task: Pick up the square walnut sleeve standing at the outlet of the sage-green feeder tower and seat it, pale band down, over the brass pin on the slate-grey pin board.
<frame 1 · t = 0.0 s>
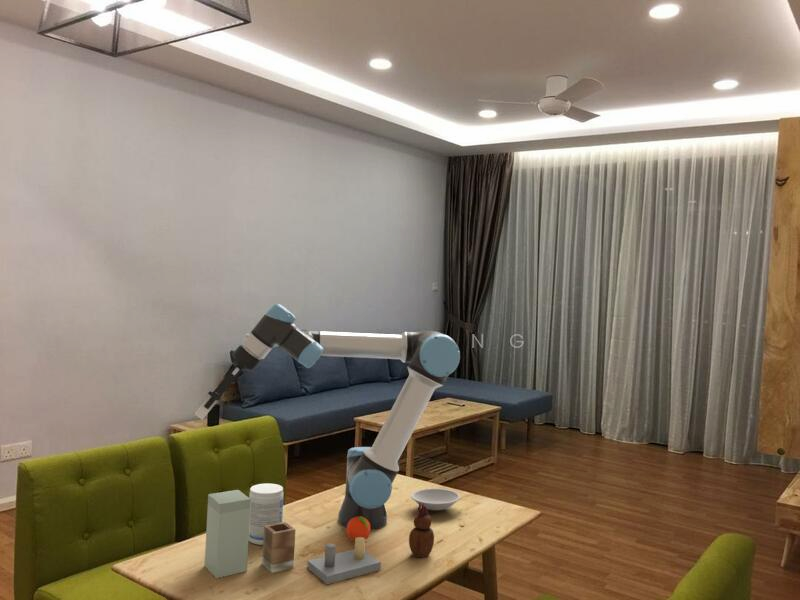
hand: (202, 411, 177), 36 cm above the table, tool tilted 35°, fingers open, 13 cm apart
sleeve: (277, 565, 164), on the table
clementine: (359, 541, 182), on the table
feeder tower: (225, 568, 161), on the table
supplement tub: (264, 540, 180), on the table
pin board: (344, 569, 164), on the table
wooden figurine: (420, 555, 176), on the table
dish: (435, 510, 211), on the table
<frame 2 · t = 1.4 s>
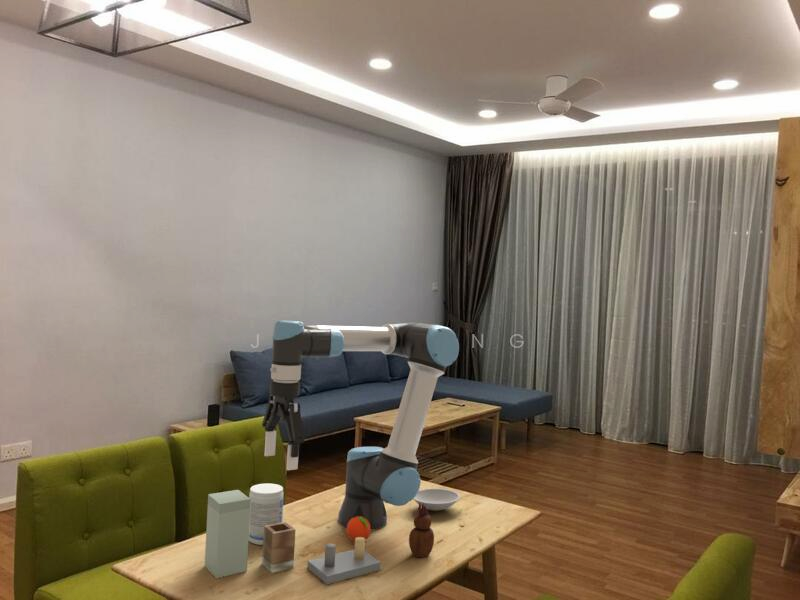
hand: (280, 462, 164), 27 cm above the table, tool pointing down, fingers open, 13 cm apart
nothing on the table moved.
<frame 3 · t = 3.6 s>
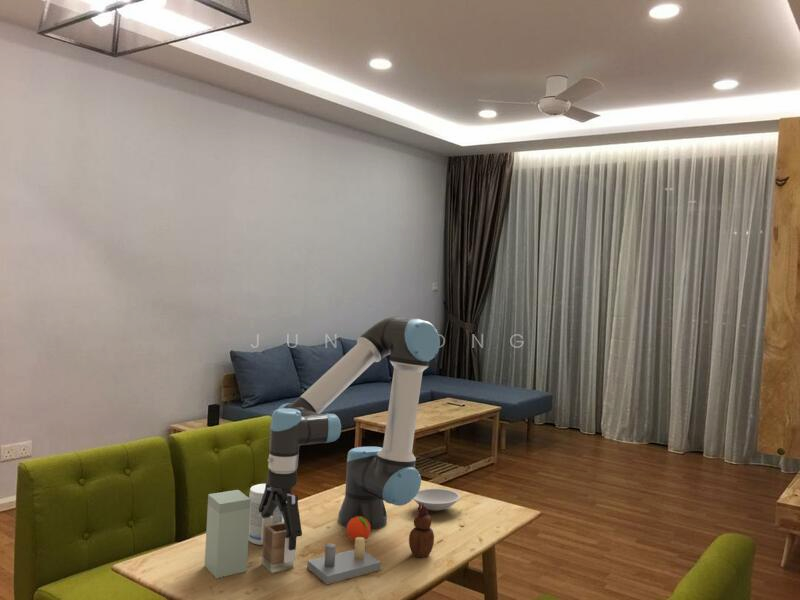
hand: (277, 551, 164), 4 cm above the table, tool pointing down, fingers open, 13 cm apart
nothing on the table moved.
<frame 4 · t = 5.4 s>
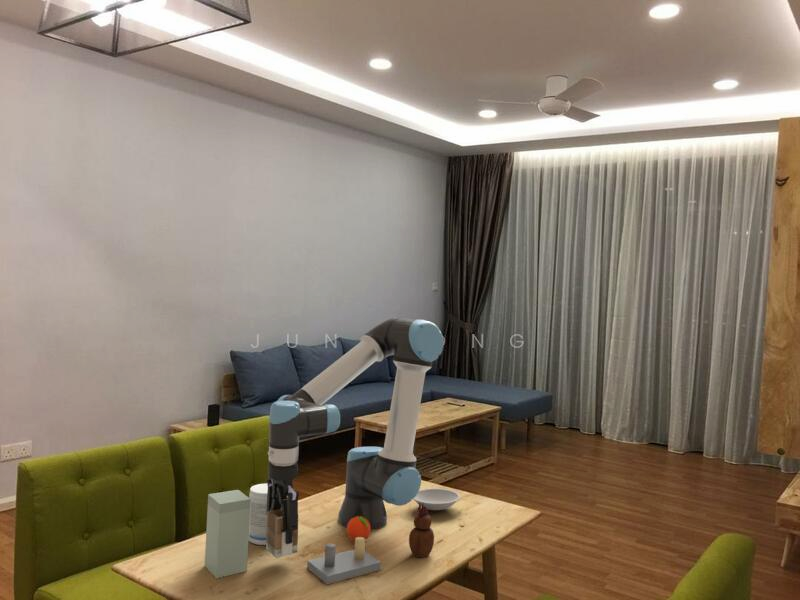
hand: (280, 549, 164), 4 cm above the table, tool pointing down, fingers closed on sleeve, 6 cm apart
sleeve: (281, 550, 164), point 4 cm above the table, touching gripper
everything else where it was.
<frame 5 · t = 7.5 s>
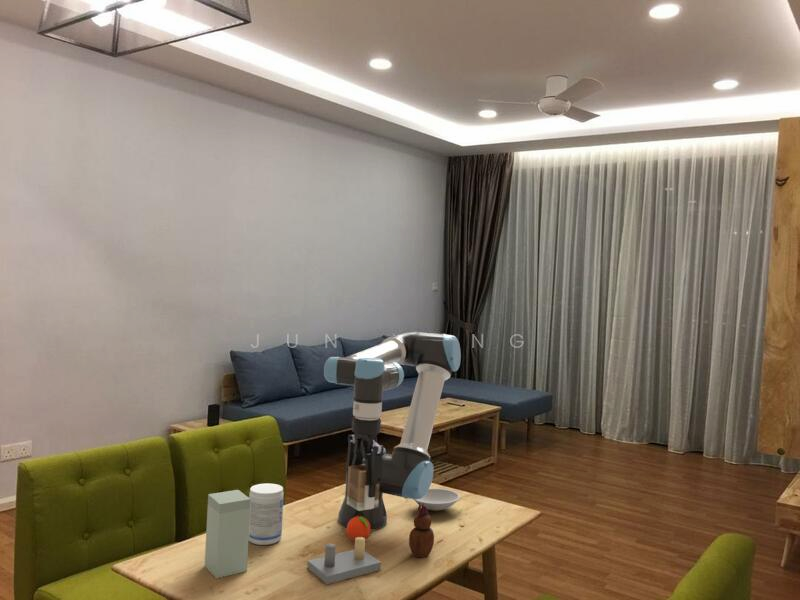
hand: (361, 504, 166), 16 cm above the table, tool pointing down, fingers closed on sleeve, 6 cm apart
sleeve: (362, 505, 167), point 16 cm above the table, touching gripper
everything else where it was.
when the fingers open (3 cm above the table, at t = 9.6 s): sleeve drops 1 cm, resting on pin board.
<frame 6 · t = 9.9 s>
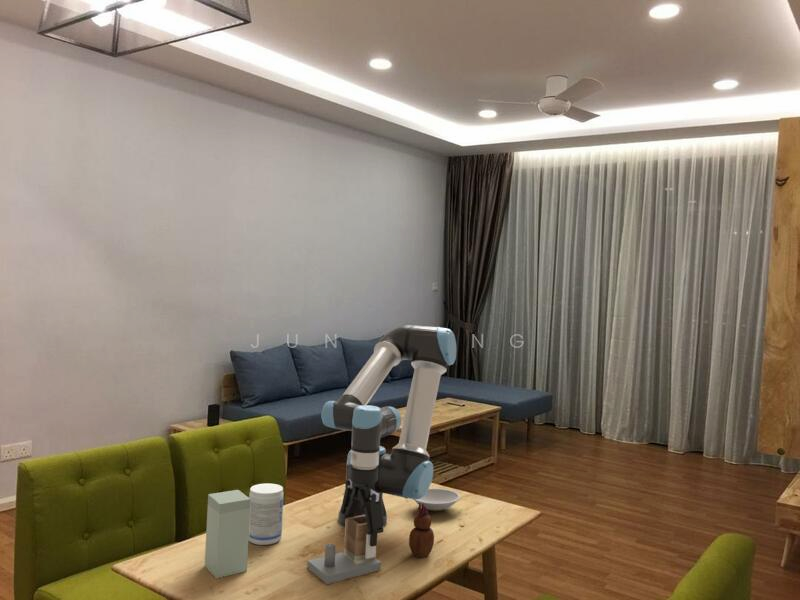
hand: (359, 549, 167), 4 cm above the table, tool pointing down, fingers open, 9 cm apart
sleeve: (359, 557, 167), point 2 cm above the table, touching pin board
everything else where it was.
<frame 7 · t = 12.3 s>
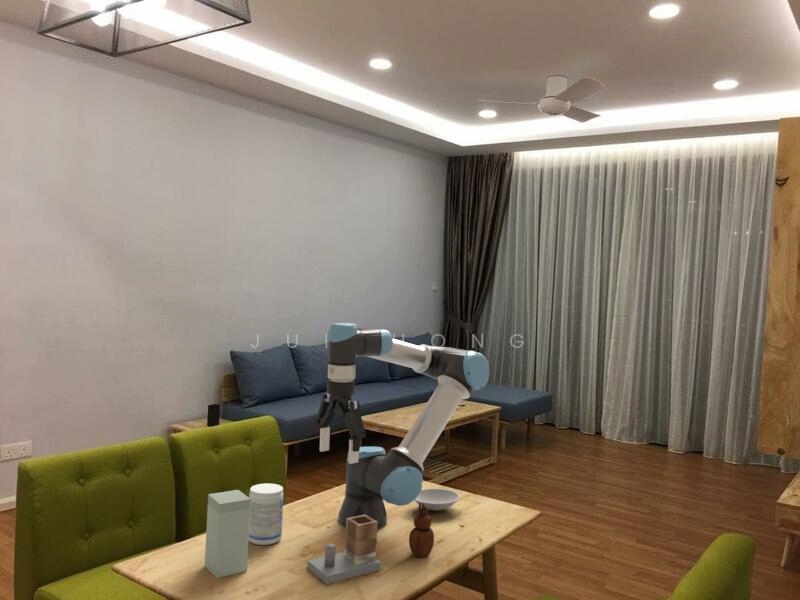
hand: (338, 456, 174), 26 cm above the table, tool pointing down, fingers open, 13 cm apart
nothing on the table moved.
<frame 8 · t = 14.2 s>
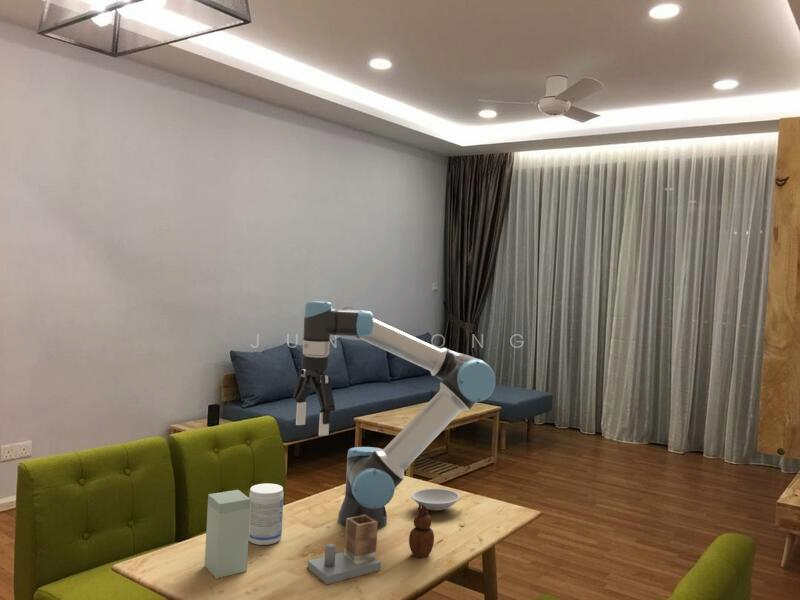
hand: (311, 429, 180), 32 cm above the table, tool pointing down, fingers open, 13 cm apart
nothing on the table moved.
at the end: sleeve 0.2 cm from the target spot on the pin board, point 2.0 cm above the pin board's base; sleeve tilted 0°; the gripper is holding nothing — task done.
